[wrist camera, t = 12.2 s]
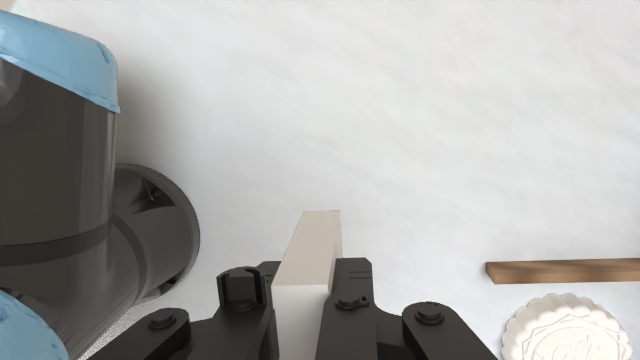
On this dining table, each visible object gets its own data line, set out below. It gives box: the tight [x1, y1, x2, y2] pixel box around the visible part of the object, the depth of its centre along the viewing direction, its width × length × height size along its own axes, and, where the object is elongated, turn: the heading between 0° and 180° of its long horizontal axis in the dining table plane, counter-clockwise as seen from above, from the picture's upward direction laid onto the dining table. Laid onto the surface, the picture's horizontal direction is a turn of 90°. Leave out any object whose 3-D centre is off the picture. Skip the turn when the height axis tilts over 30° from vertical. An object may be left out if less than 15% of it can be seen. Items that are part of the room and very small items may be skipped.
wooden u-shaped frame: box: [486, 258, 640, 284], centre depth 44 cm, size 18×18×3 cm
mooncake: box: [501, 293, 633, 360], centre depth 44 cm, size 12×12×4 cm
